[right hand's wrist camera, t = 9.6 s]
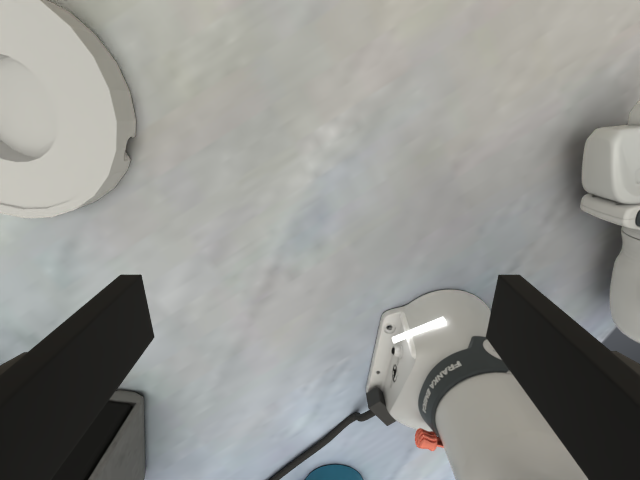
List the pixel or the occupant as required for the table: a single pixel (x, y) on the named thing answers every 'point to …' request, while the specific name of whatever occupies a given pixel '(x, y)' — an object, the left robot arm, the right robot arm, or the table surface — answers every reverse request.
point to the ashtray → (58, 112)
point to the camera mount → (334, 473)
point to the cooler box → (110, 443)
